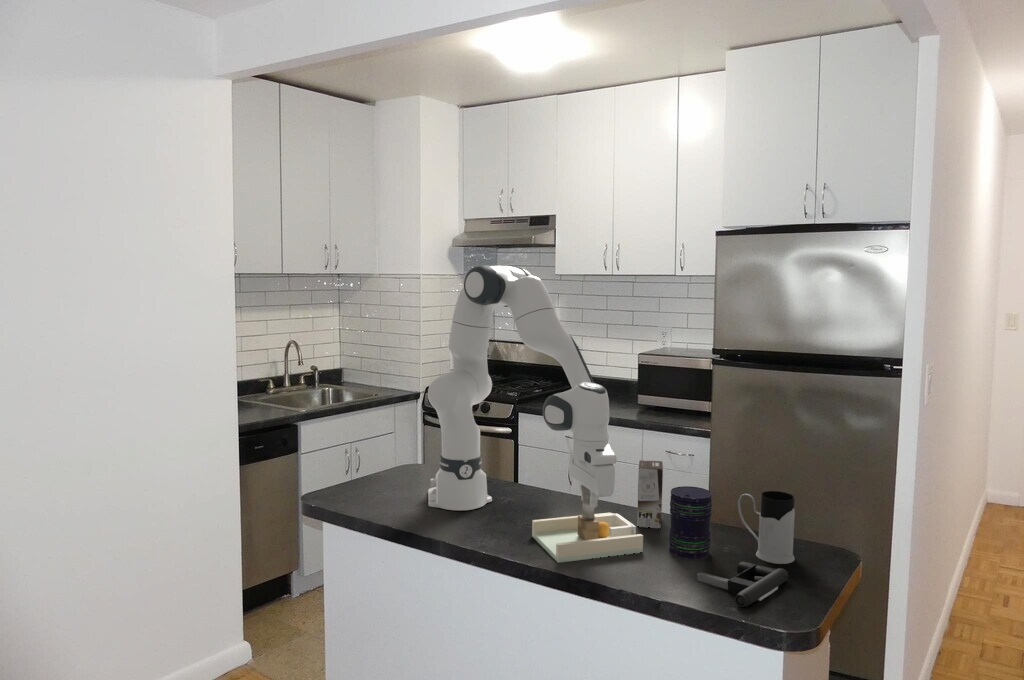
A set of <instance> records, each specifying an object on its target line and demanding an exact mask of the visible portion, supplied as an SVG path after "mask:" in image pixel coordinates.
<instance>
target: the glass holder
mask: <svg viewBox="0 0 1024 680" xmlns="http://www.w3.org/2000/svg"><path fill="white" fill-rule="evenodd" d="M760 495H761V496H760V512H759V511H757V502H756V499H755V498H754V497H753V495H752V494H749V493H743V494H741V495H740V496H739V497H738V500H737V510H738V515H739V518H740V519H741V522H742V524H743V525H744V526H745V528H746V529H747V531H748V532H749V533H750V534H751V535H752V536H753V537H754V539H755V540H756V541H757V545H758V546H757V551H756V553H755V556H756V557H757V558H758V559H759V560H762V561H763V562H767V563H771V564H776V565H777V564H778V565H782V564H783V565H785V564H786V565H787V564H790V563H793V562H794V561H795V560H796V559H795V556H794V536H795V534H794V533H795V515H796V514H795V512H796V509H795V496H794V495H793V494H792V493H787V492H785V491H779V490H778V491H776V490H768V491H762V492H761V494H760ZM743 496H748V498H750V499H751V500H752V503H753V511H754V513H755V514H757V515H759V518H758V519H759V521H758V523H759V524H758V536H757V535H756V533H755V532H754V531H753V530H752V529H751V528H750V527H749V525H748V524H747V522H746V521H745V519H744V516H743V514H742V510H741V498H742V497H743Z"/></svg>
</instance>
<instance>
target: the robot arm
mask: <svg viewBox="0 0 1024 680" xmlns="http://www.w3.org/2000/svg"><path fill="white" fill-rule="evenodd" d="M459 291H460V292H459V294H458V297H457V300H456V304H455V307H454V311H453V316H452V321H451V327H450V333H449V339H448V340H449V342H448V349H449V351H450V353H451V354H452V362H453V363H452V364H453V368H452V371H450V372H447V373H443V374H440V375H439V376H438V377H437V378H436V379H434V380H433V381H431V383H430V384H429V386H428V389H427V398H428V401H429V403H430V405H431V407H433V409H434V410H435V412H436V414H437V417H438V421H439V425H440V432H441V454H440V458H439V469H438V471H437V473H436V474H435V477H434V478H430V480H429V485H430V487H429V488H428V490H427V499H428V502H427V503H428V507H429V508H430V507H432V508H440V509H443V510H448V511H449V510H450V511H470V510H475V509H479V508H481V507H482V508H483V507H484V506H485V505H486V504H487V503H488V504H489V503H491V502H492V501H493V497H492V496H491V495H489V494H488V484H487V474H486V473H485V472H484V470H482V466H483V465H482V463H483V459H482V455H481V430H480V427H479V425H478V424H477V423H476V420H475V418H474V413H473V406H474V405H478V404H481V403H482V402H483V401H484V400H485V399H486V398H487V397H488V396H489V395H490V394H491V392H492V388H493V381H492V378H491V376H490V374H489V368H488V348H489V342H490V336H491V331H492V322H493V316H494V313H495V310H496V309H497V308H498V307H504V308H506V307H507V308H508V307H509V308H510V311H511V313H512V316H513V320H514V324H515V327H516V330H517V334H518V336H519V339H521V342H523V345H525V346H526V347H527V348H529V349H530V350H531V349H532V350H533V351H535V352H539V353H542V354H545V355H546V356H549V357H551V358H553V359H554V360H556V361H557V362H558V363H559V364H560V365H561V367H562V369H563V371H564V373H565V376H566V377H567V380H568V383H569V384H570V386H571V388H570V389H568V390H565V391H563V392H561V391H560V392H557V393H554V394H552V395H549V396H548V397H547V398H546V399H545V401H544V403H543V405H542V406H543V407H542V416H543V420H544V422H545V424H546V425H547V427H548V428H550V430H552V431H557V432H565V431H570V432H571V433H572V444H571V445H572V448H571V450H570V451H569V457H568V475H569V477H571V478H572V479H573V480H575V481H576V482H578V483H579V486H578V487H579V490H580V494H581V495H580V496H581V502H582V501H583V486H585V487H586V488H587V489H589V490H590V494H591V496H590V499H588V502H589V503H588V505H589V506H590V507H592V508H597V507H598V500H599V498H606V497H612V495H613V493H614V491H615V482H616V481H615V479H616V477H615V476H616V471H615V465H614V464H616V463H617V459H618V457H617V455H616V453H615V452H614V450H613V448H612V446H611V444H610V443H609V438H610V437H609V432H608V425H609V423H610V399H609V395H608V391H607V389H606V388H605V387H604V385H601V384H598V383H595V380H594V379H593V377H592V375H591V372H590V370H589V367H588V366H587V363H586V360H585V359H584V357H583V355H582V353H581V351H580V349H579V346H578V344H577V343H576V341H575V339H574V338H573V337H572V335H571V334H569V332H567V330H566V329H565V327H564V326H563V324H562V323H561V320H560V318H559V317H558V314H557V311H556V308H555V306H554V304H553V301H552V298H551V295H550V294H549V291H548V289H547V287H546V286H545V284H544V282H543V280H541V278H539V277H537V276H535V275H532V274H531V272H529V271H528V270H527V269H524V268H522V267H517V266H516V267H515V266H514V267H513V266H510V265H503V264H500V265H486V264H483V265H482V264H481V265H477V266H474V267H472V268H470V269H469V270H468V271H467V272H466V275H465V277H464V281H463V287H462V288H461V290H459Z"/></svg>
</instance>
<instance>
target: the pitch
mask: <svg viewBox="0 0 1024 680" xmlns="http://www.w3.org/2000/svg"><path fill="white" fill-rule="evenodd" d="M594 519H596V520H597V521H598V522H606V523H608V524H609V526H610V527H609V536H608V537H606V538H600V537H598V539H591V540H583V539H582V538H581V537H580V536H579V535H578V515H573V516H572V515H571V516H561V517H551V518H541V519H532V520H531V524H532V527H531V537H532V538H533V539H534V540H535V541H536V543H538V544H539V545H540V546H541V547H542V548H543V549H544V550H545V551H546V552H547V553H548V554H549V556H550V557H552V558H553V559H554V560H555V561H556V562H557V563H558V564H559V563H566V562H574V561H583V560H590V559H592V558H593V559H600V557H601V558H608V556H610V557H616V556H617V555H618V556H625V555H624V554H626V555H633V553H635V554H641V553H640V552H643V550H644V535H643V534H641V533H639V534H638V533H637V525H634V524H633V523H632V522H631V521H629V520H627V519H626V518H625V517H623V516H622V515H621V514H619V513H612V512H603V513H601V512H600V513H594Z"/></svg>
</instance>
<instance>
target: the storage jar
mask: <svg viewBox="0 0 1024 680" xmlns="http://www.w3.org/2000/svg"><path fill="white" fill-rule="evenodd" d="M712 494H713V493H712V491H711V490H708V489H707V488H706V489H705V488H702V487H698V486H691V485H690V486H688V485H687V486H686V485H682V486H676V487H673V488H672V489H671V490H670V500H669V507H670V508H669V513H670V528H669V535H668V541H669V547H668V552H669V554H671V555H672V554H673V555H674V557H676V558H678V557H679V558H678V559H682V558H683V559H682V560H688V559H689V561H700V560H699V559H701V560H705V559H708V558H709V557H710V556H711V555H710V552H711V551H710V549H711V540H712V539H711V531H710V529H711V528H710V527H711V526H710V525H711V517H712V508H713V505H712V504H713V503H712V499H713V498H712V497H713V495H712ZM673 555H672V556H673ZM708 556H709V557H708ZM704 558H705V559H704Z"/></svg>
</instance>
